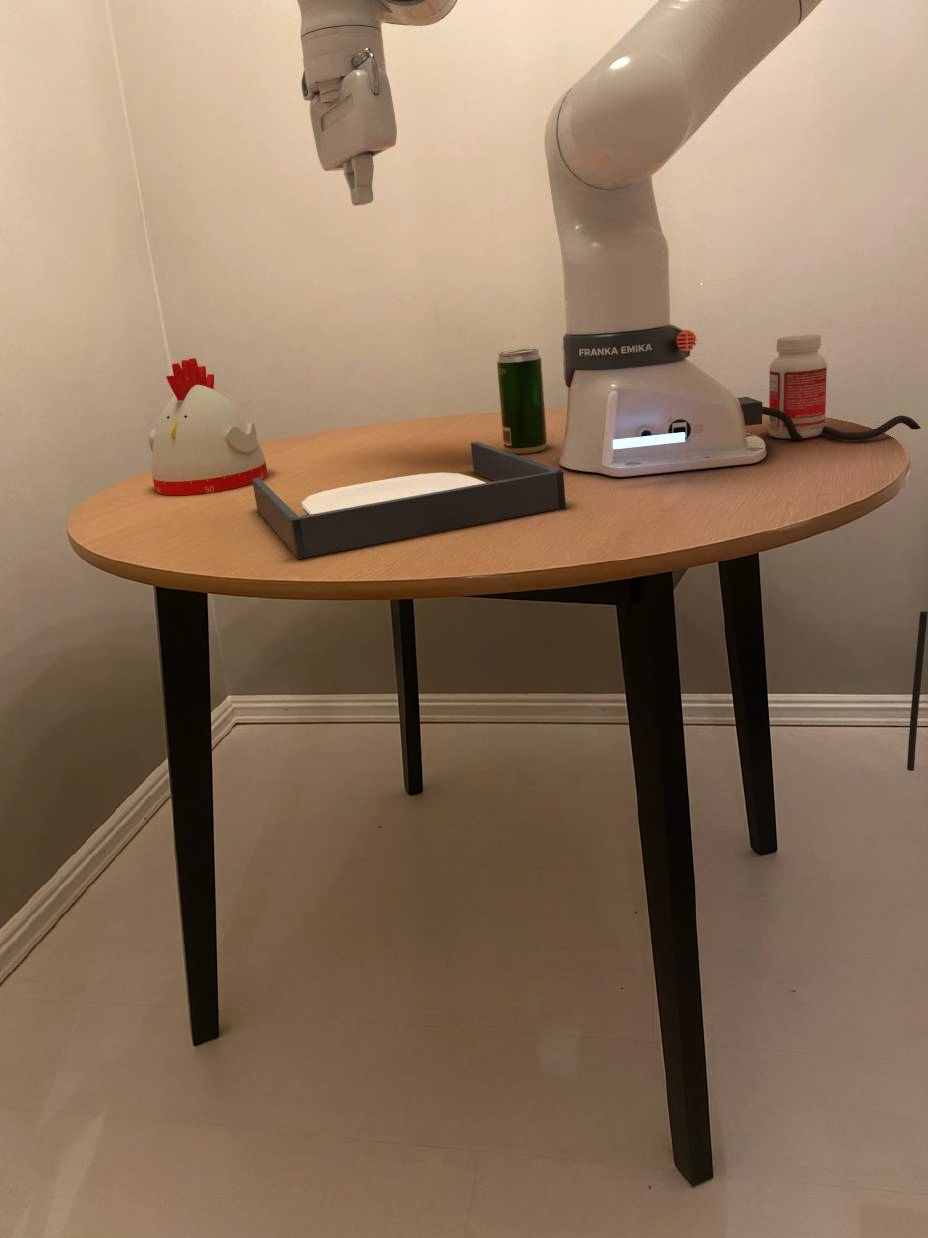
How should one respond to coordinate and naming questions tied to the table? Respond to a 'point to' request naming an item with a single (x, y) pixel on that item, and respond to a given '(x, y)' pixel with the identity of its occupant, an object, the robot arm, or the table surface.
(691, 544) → the table surface
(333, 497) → the plate
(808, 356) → the pill bottle
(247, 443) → the kitchen timer
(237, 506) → the table surface
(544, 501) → the tray
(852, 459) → the table surface
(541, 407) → the beer can
